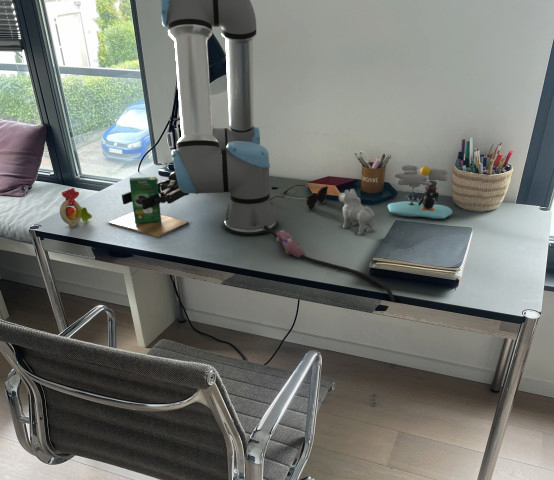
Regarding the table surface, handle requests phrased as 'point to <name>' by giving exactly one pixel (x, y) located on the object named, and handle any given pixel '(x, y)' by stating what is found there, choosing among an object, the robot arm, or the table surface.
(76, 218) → the bird rattle
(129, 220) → the wooden board
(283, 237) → the pink animal figurine
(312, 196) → the sunglasses
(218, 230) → the table surface
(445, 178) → the penguin figurine
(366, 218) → the dog figurine
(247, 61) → the robot arm
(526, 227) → the table surface
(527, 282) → the table surface
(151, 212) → the coffee box
